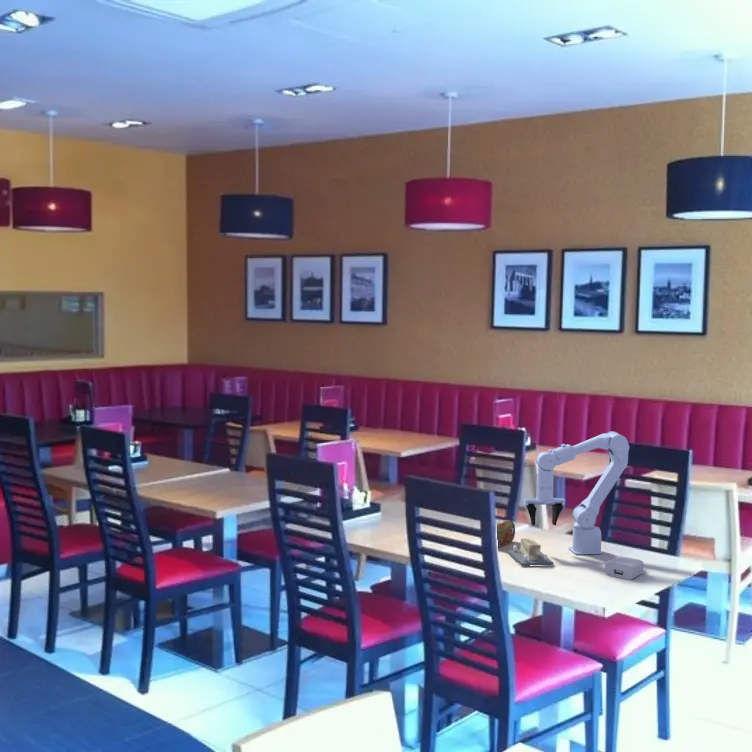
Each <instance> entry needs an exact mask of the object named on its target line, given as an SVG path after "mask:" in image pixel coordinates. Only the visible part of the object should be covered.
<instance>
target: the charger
mask: <svg viewBox="0 0 752 752" xmlns="http://www.w3.org/2000/svg"><path fill="white" fill-rule="evenodd" d="M604 565H605V567H604V568H605V569H604V573H605V575H606V574H608V575H607V576H610V575H612V576H611V577H615V576H617V577H616V578H619V577H621V578H620V579H626V580H629V581H630V580H633V579H635V578H636V577H638V576H640V575H642V574H643V573H644V561H642V560H641V559H638V558H633V557H627V556H622V555H619V556H616V557H614V558H612V559H610V560H607V561H606V562H605V563H604Z"/></svg>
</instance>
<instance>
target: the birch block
mask: <svg viewBox="0 0 752 752" xmlns="http://www.w3.org/2000/svg"><path fill="white" fill-rule="evenodd" d="M541 546H542V544H540V543H538V542H537V540H535V539H534V538H532V537H531V538H520V550H521V552H520V553H521V554H522V555H523V556H524V555H528V560H540V552H542V551H541V550H542V549H541Z"/></svg>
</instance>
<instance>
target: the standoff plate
mask: <svg viewBox="0 0 752 752" xmlns="http://www.w3.org/2000/svg"><path fill="white" fill-rule="evenodd" d="M520 552H521V549H518V545H513V549H507V552H506V553H507V554H509V555H510V556H509V555H508V556H509V557H511V558H512V559H513V560H514V561H515V560H516V561H517V562H518V563H519V564H520V565H521V566H530V565H553V566H554V561H552V560H551V559H550V558H549V557H548V554H545V553H543V552H542V551H540V560H528V555H524V556H523V555H522V554H521V553H520ZM516 561H515V562H516ZM517 562H516V563H517ZM518 563H517V564H518ZM519 564H518V565H519ZM520 565H519V566H520ZM521 566H520V567H521Z"/></svg>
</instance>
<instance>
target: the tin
mask: <svg viewBox="0 0 752 752" xmlns="http://www.w3.org/2000/svg"><path fill="white" fill-rule="evenodd" d="M496 523H497V540H498V547H497V548H502V547H505V546H506V545H507V546H508V545H509V544H511V543H512V542H513V540H514V539H515V534H516V527H515V523H514V521H513V520H511V519H508V520H507V519H503V520H501V521H498V522H496Z"/></svg>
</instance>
